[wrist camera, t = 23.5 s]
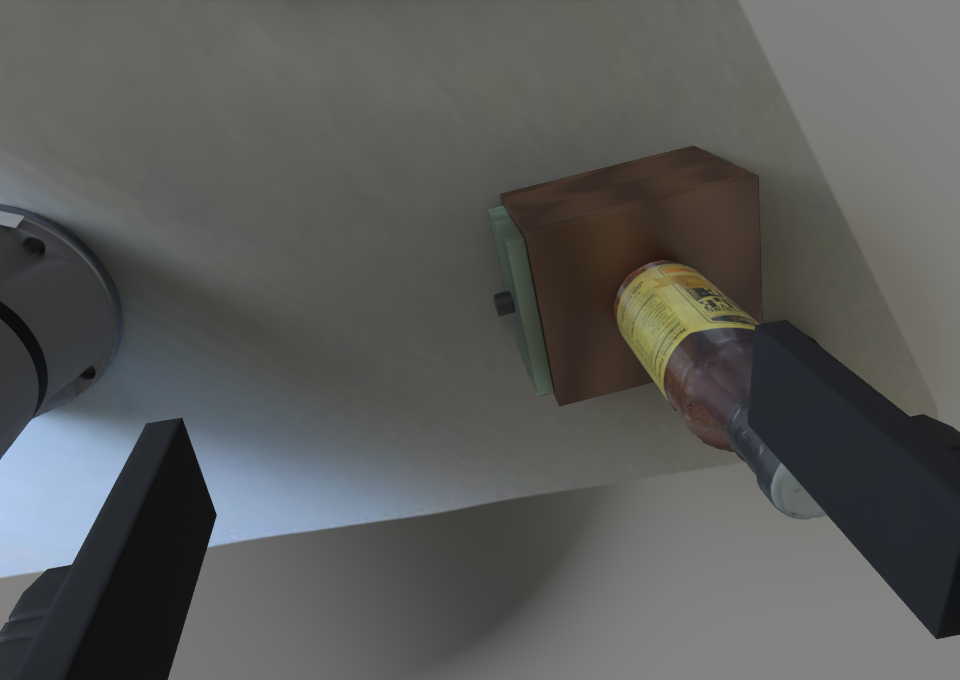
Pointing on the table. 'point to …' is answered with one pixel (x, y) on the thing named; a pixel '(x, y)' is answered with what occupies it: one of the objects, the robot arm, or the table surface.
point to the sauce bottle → (704, 367)
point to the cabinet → (631, 253)
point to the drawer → (520, 299)
